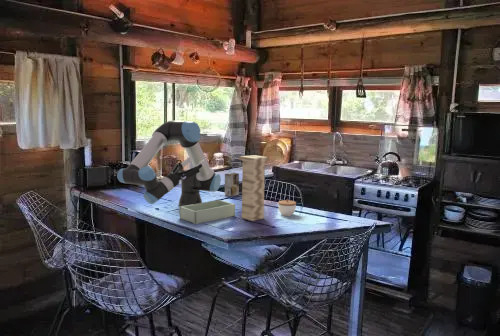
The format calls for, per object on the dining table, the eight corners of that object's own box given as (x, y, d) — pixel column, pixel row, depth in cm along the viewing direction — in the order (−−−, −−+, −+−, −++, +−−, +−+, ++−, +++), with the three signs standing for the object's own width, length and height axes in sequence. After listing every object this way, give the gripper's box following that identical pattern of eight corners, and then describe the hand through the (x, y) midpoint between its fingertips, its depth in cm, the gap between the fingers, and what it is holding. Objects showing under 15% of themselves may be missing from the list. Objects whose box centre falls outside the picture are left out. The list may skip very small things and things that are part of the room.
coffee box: (232, 193, 310) (232, 172, 307) (239, 194, 306) (239, 173, 303) (224, 195, 303) (224, 173, 301) (230, 196, 299) (230, 174, 296)
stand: (252, 221, 232) (253, 158, 227) (238, 217, 241) (239, 156, 236) (267, 218, 240) (268, 157, 235) (253, 214, 249) (254, 155, 244)
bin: (194, 224, 226) (194, 211, 225) (179, 218, 236) (179, 206, 235) (235, 215, 245) (235, 204, 244) (219, 210, 256) (219, 199, 255)
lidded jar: (294, 212, 255) (295, 197, 254) (296, 217, 245) (297, 201, 244) (277, 212, 256) (278, 197, 254) (278, 216, 245) (278, 201, 244)
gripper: (160, 184, 231) (187, 163, 242) (185, 191, 213) (214, 168, 224) (154, 173, 227) (182, 152, 238) (179, 179, 209) (208, 156, 220)
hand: (197, 160), depth 231 cm, fingers open, 13 cm apart
